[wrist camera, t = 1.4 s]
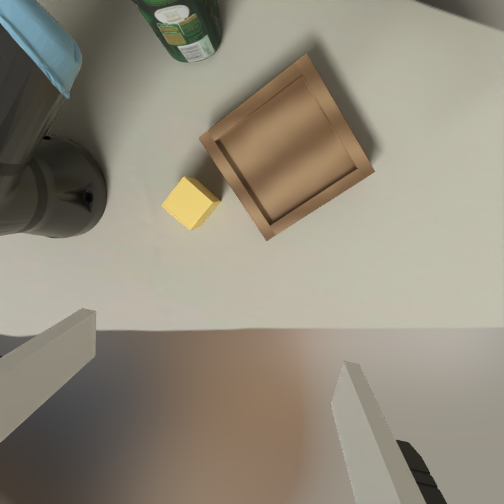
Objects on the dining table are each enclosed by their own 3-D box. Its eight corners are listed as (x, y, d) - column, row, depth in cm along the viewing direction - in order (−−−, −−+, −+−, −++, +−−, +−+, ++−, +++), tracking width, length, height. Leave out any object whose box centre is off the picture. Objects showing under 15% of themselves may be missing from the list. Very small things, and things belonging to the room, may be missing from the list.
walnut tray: (206, 143, 37) (198, 138, 33) (303, 68, 34) (306, 52, 30) (267, 236, 39) (266, 241, 35) (365, 174, 36) (375, 171, 32)
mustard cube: (175, 204, 40) (161, 205, 35) (195, 178, 38) (183, 176, 34) (200, 226, 40) (189, 230, 35) (221, 201, 39) (212, 202, 34)
